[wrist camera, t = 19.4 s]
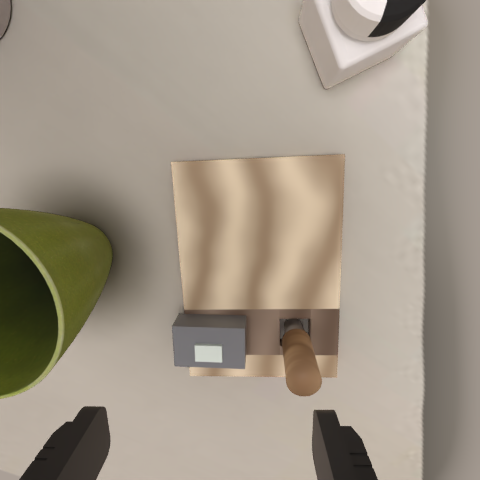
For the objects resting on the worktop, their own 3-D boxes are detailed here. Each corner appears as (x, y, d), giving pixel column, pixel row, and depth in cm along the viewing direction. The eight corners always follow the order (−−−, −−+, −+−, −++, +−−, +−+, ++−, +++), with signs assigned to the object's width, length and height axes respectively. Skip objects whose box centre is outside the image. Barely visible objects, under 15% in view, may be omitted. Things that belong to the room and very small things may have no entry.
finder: (181, 350, 38) (173, 368, 35) (179, 313, 37) (171, 328, 34) (246, 353, 38) (244, 371, 34) (246, 315, 36) (244, 330, 33)
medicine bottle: (367, -20, 29) (437, -142, 18) (393, 56, 30) (473, -11, 19) (296, 19, 30) (317, -71, 19) (324, 91, 32) (359, 48, 20)
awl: (280, 337, 38) (286, 396, 29) (279, 313, 38) (286, 365, 28) (306, 337, 38) (321, 396, 29) (306, 313, 37) (322, 365, 28)
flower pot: (139, 188, 35) (42, 206, 20) (150, 308, 39) (76, 404, 23) (15, 190, 36) (-169, 209, 21) (37, 307, 40) (-106, 397, 24)
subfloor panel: (192, 368, 40) (190, 375, 39) (174, 162, 34) (170, 162, 33) (334, 369, 39) (336, 377, 38) (341, 154, 33) (344, 154, 31)
